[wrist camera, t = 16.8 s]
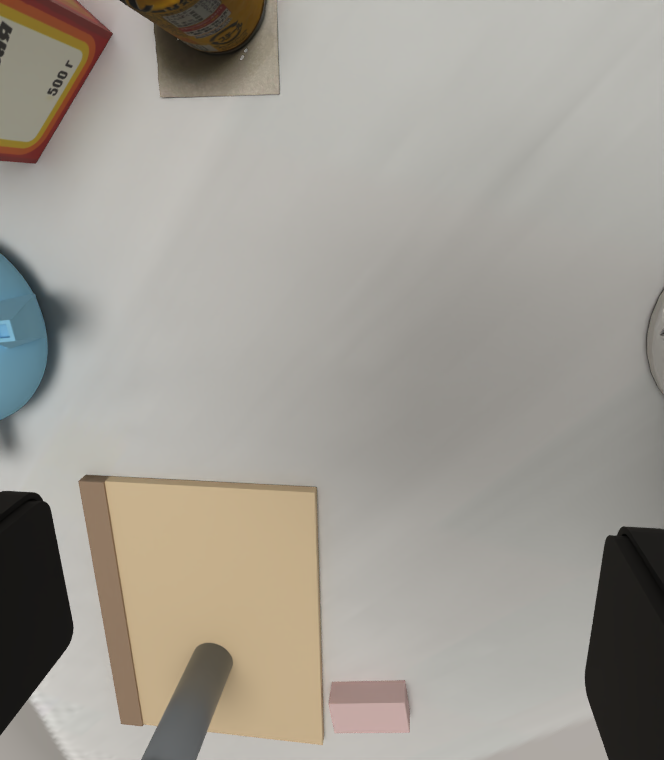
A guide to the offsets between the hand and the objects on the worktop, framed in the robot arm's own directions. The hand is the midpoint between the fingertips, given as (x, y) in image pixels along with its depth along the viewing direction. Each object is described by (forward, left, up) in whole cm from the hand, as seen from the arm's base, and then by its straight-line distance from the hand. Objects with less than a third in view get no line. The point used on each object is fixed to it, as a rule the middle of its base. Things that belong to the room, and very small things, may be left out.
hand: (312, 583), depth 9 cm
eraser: (+1, +33, -29) cm, 44 cm away
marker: (+14, +30, -28) cm, 43 cm away
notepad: (+14, +26, -28) cm, 41 cm away
